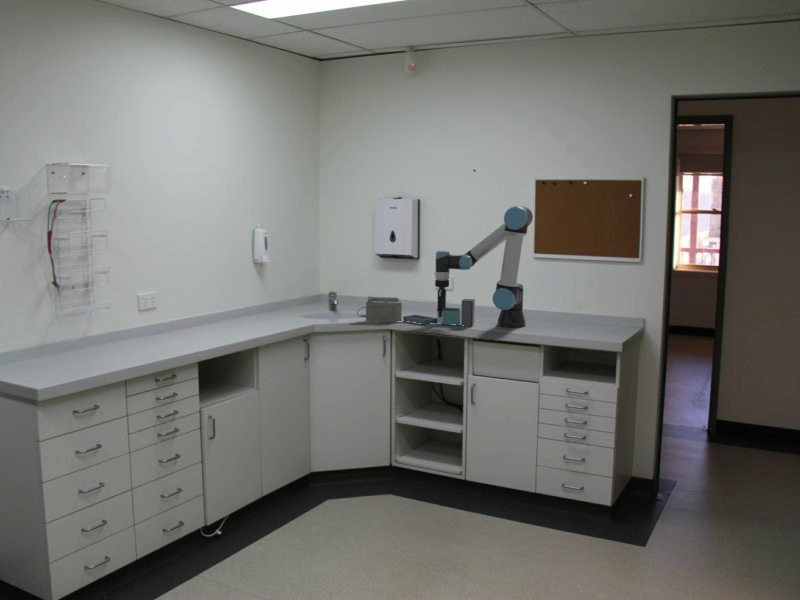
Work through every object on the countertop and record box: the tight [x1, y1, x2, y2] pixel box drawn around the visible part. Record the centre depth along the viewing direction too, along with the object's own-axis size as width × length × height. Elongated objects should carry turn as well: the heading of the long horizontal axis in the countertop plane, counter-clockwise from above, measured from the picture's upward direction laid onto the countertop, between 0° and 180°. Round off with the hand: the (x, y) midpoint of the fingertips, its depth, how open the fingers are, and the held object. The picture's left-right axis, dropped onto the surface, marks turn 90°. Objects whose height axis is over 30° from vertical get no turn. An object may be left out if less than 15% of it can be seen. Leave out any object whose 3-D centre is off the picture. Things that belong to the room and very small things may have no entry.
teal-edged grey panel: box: [436, 306, 461, 326], centre depth 407 cm, size 12×4×9 cm, turn 77°
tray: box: [402, 314, 437, 326], centre depth 413 cm, size 17×10×3 cm, turn 46°
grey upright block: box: [460, 298, 476, 327], centre depth 405 cm, size 6×8×14 cm
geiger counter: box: [356, 295, 403, 323], centre depth 415 cm, size 14×6×25 cm
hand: (441, 321), depth 409 cm, fingers closed on teal-edged grey panel, 4 cm apart
